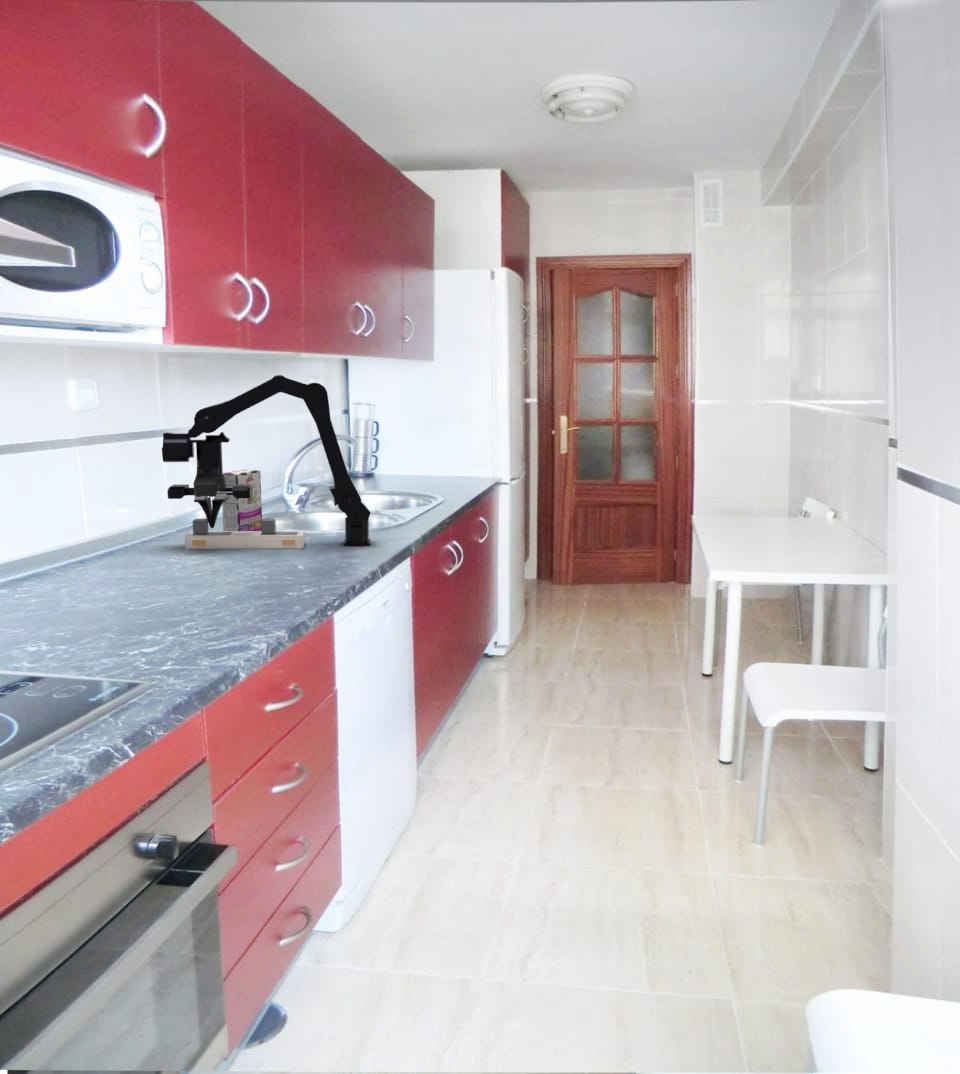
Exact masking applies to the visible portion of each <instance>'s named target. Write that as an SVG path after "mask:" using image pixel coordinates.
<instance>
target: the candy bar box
mask: <svg viewBox="0 0 960 1074" xmlns="http://www.w3.org/2000/svg"><path fill="white" fill-rule="evenodd" d="M223 475H225V480H226V488H233V486H234V485H235V484H250V485H251V486H252V487H253V496H252V497H251V498H235V497H234V496H233V495H228V496H227V497H228V500H227V501H225V502H223V503H222V506H221V507H222V525H223V526H222V527H223V528H222V529H223V531H261V521H262V519H263V509H262V483H261V482H262V481H261V477H262V476H261V469H254V468H253V469H251V468H250V469H249V468H245V469H239V470H233V471H228V472H223Z"/></svg>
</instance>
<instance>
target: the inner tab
mask: <svg viewBox="0 0 960 1074" xmlns="http://www.w3.org/2000/svg"><path fill="white" fill-rule="evenodd" d="M276 522H277V520H276V518H262V521H261V531H262V533H275V532H276V531H277V525H276V524H277V523H276Z"/></svg>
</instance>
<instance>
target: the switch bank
mask: <svg viewBox="0 0 960 1074" xmlns="http://www.w3.org/2000/svg"><path fill="white" fill-rule="evenodd" d="M305 545H306V531H305V530H294V531H293V530H291V531H290V530H289V531H287V530H285V531H284V530H276V532H275V533H262V531H224V530H216V531H214V530H212V531H211V530H208V532H207V533H193V530H192V531H189V532H188V533H187V534H186V535H184V549H185V550H190V549H191V550H217V549H218V550H222V549H223V550H226V549H227V550H228V549H229V550H231V549H232V550H237V549H239V550H240V549H241V550H242V549H243V550H244V549H245V550H247V549H248V550H249V549H253V550H254V549H256V550H257V549H259V550H260V549H261V550H262V549H263V550H264V549H270V550H271V549H272V550H273V549H275V550H277V549H278V550H279V549H281V550H282V549H283V550H285V549H297V550H299V549H300V550H301V549H304V547H305Z"/></svg>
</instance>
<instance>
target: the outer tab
mask: <svg viewBox="0 0 960 1074" xmlns="http://www.w3.org/2000/svg"><path fill="white" fill-rule="evenodd" d="M192 531H193V533H207V532H208V531H209V522H208V520H207V518H195V519H193V520H192Z"/></svg>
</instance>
